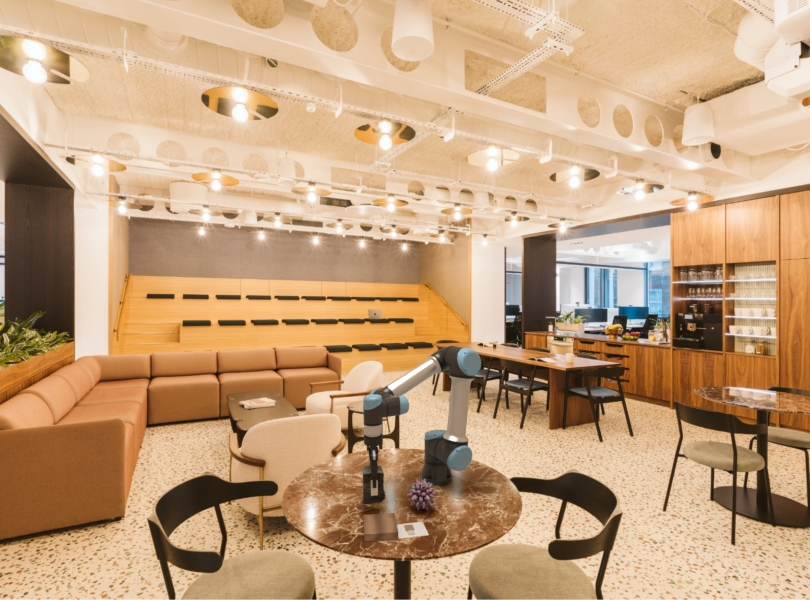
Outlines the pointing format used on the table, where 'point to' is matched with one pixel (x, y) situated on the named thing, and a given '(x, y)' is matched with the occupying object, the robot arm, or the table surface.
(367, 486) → the stone block
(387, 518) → the base brick
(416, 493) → the flower
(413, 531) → the page
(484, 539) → the table surface
